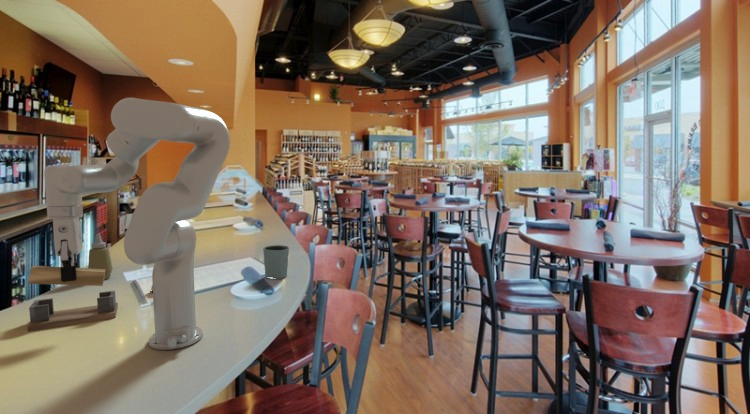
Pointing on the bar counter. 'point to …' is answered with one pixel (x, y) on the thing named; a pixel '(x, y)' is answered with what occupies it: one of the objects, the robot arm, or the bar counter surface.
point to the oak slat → (54, 277)
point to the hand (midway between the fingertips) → (70, 278)
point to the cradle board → (71, 312)
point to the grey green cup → (276, 261)
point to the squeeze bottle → (100, 257)
